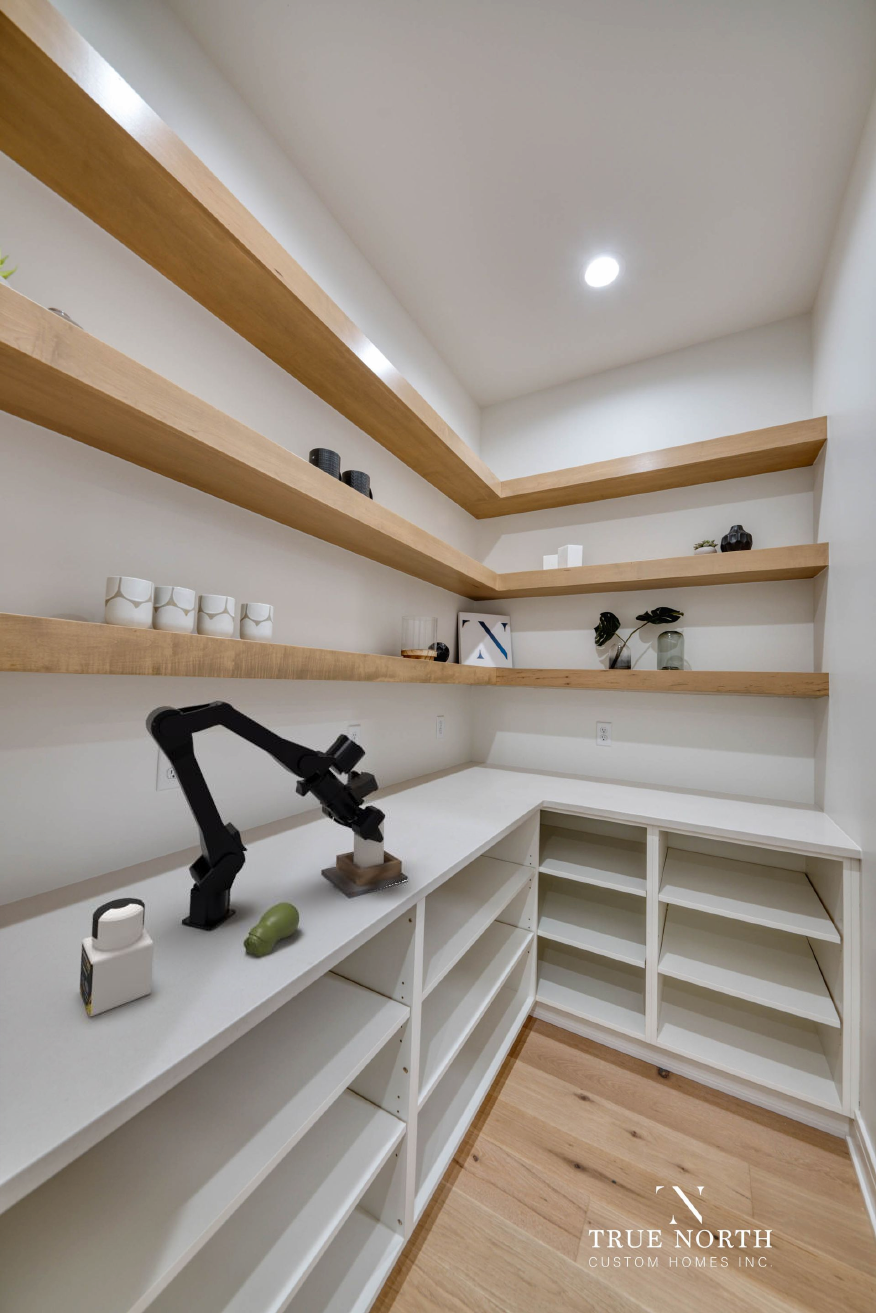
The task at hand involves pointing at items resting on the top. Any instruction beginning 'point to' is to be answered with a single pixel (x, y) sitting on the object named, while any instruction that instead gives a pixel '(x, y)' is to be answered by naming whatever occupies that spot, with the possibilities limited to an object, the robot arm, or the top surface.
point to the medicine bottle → (116, 957)
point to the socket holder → (363, 874)
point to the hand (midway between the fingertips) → (374, 836)
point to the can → (368, 851)
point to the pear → (272, 929)
